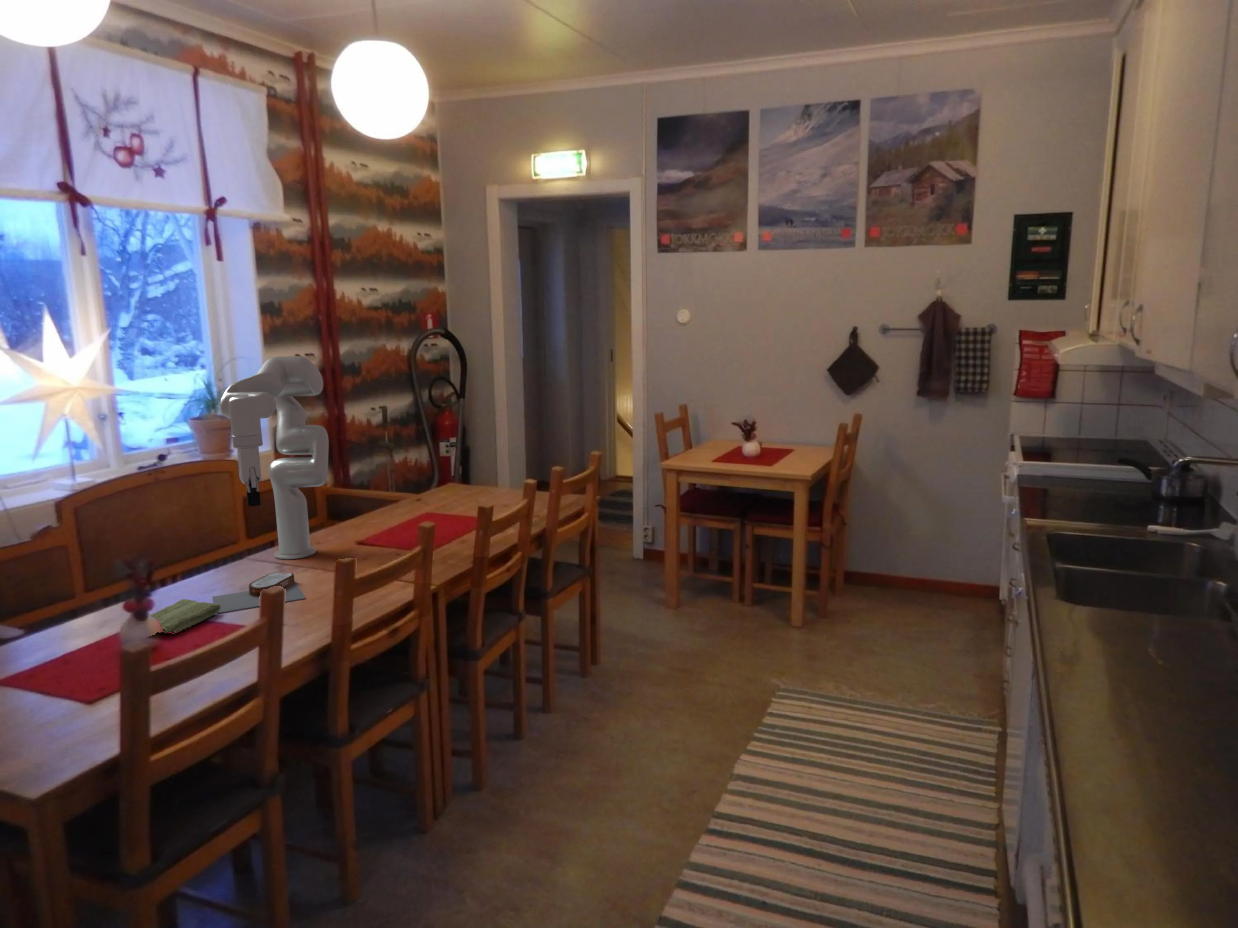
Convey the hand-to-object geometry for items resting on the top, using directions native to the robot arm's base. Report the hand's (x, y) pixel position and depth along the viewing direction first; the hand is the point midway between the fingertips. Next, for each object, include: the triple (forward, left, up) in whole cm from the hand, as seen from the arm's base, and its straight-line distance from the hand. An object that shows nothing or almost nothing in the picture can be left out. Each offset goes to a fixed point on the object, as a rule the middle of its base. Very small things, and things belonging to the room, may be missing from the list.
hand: (254, 505), depth 237 cm
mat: (+10, -2, -24) cm, 26 cm away
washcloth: (+19, -22, -24) cm, 38 cm away
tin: (0, -1, -22) cm, 22 cm away
